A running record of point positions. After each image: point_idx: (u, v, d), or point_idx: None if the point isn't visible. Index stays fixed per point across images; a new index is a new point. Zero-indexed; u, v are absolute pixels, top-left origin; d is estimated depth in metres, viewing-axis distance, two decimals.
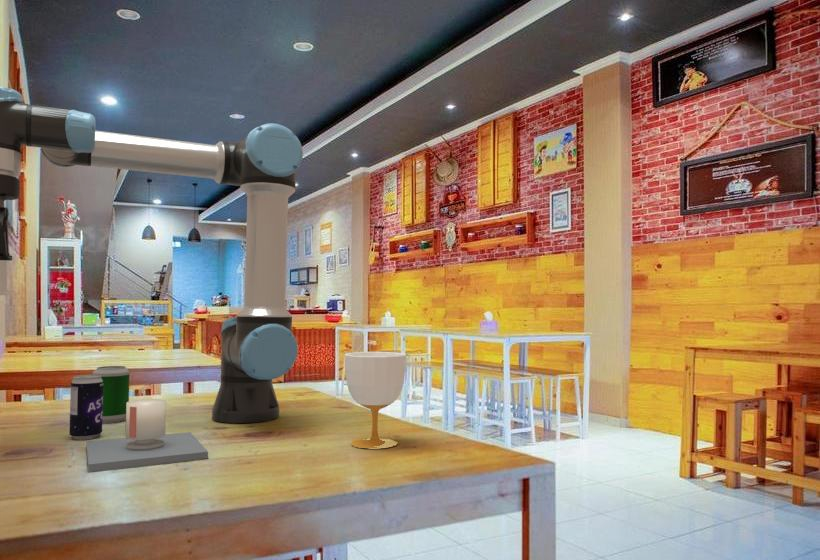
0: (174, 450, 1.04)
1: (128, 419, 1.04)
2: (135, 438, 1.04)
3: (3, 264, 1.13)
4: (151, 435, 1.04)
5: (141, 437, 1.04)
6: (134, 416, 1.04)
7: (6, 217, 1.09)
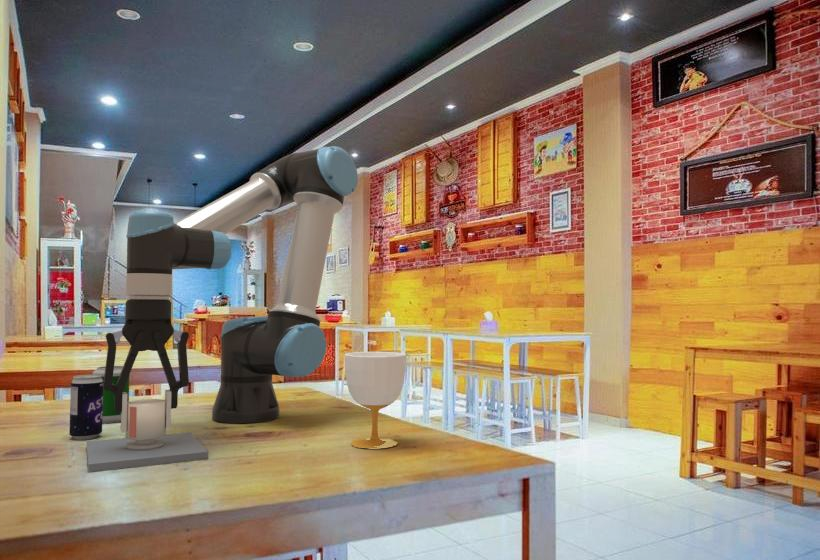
0: (174, 450, 1.04)
1: (128, 419, 1.04)
2: (135, 438, 1.04)
3: (166, 395, 1.08)
4: (151, 435, 1.04)
5: (141, 437, 1.04)
6: (134, 416, 1.04)
7: (154, 339, 1.06)
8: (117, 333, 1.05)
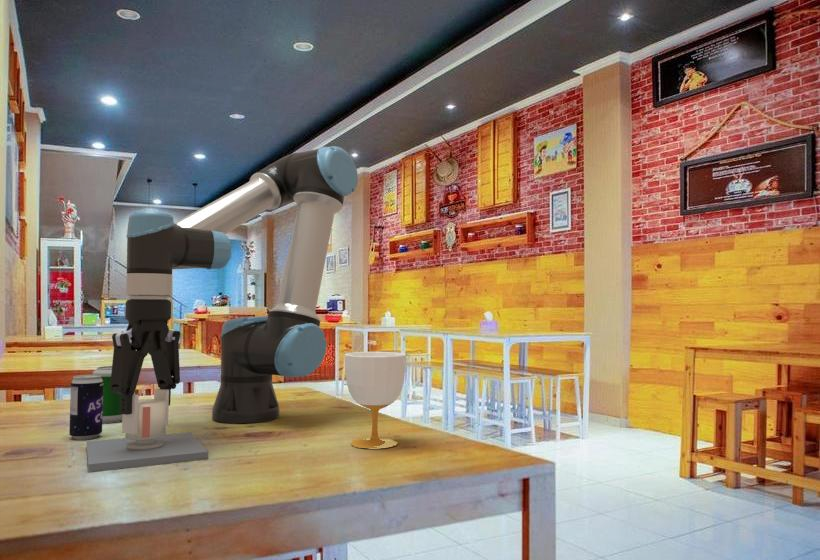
0: (174, 450, 1.04)
1: (139, 420, 1.04)
2: (149, 437, 1.04)
3: (163, 394, 1.10)
4: (162, 433, 1.06)
5: (155, 436, 1.05)
6: (148, 416, 1.04)
7: (159, 338, 1.08)
8: (128, 334, 1.03)
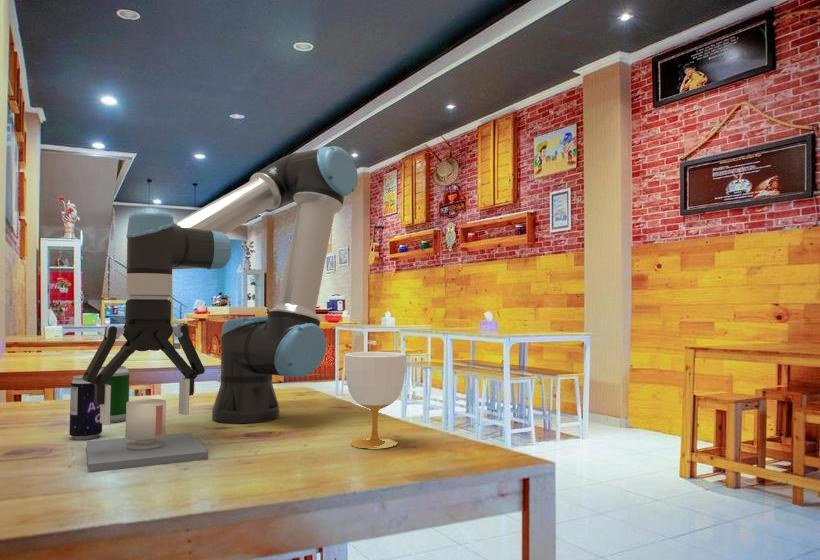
0: (174, 450, 1.04)
1: (153, 419, 1.05)
2: (160, 435, 1.06)
3: (184, 383, 1.11)
4: None
5: (163, 433, 1.07)
6: (161, 414, 1.06)
7: (158, 339, 1.07)
8: (119, 329, 1.04)
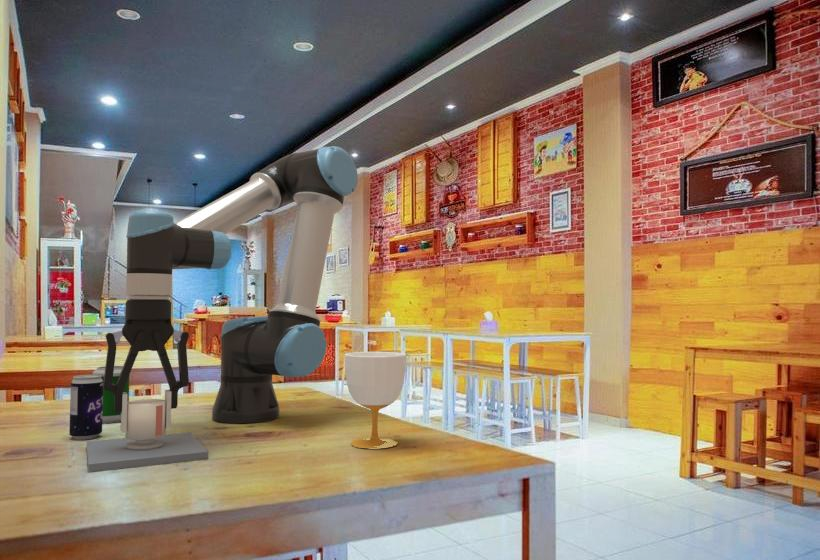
0: (174, 450, 1.04)
1: (153, 419, 1.05)
2: (160, 435, 1.06)
3: (166, 395, 1.08)
4: None
5: (163, 433, 1.07)
6: (161, 414, 1.06)
7: (154, 339, 1.06)
8: (117, 333, 1.05)
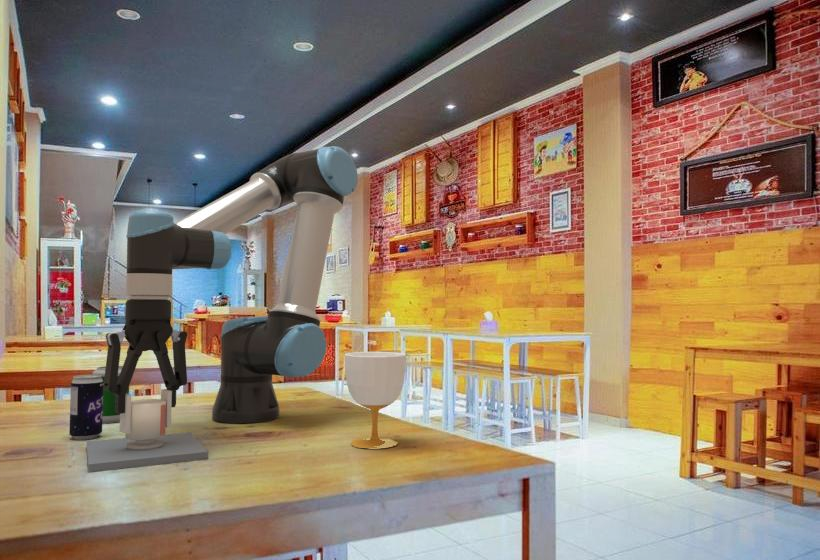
0: (174, 450, 1.04)
1: (158, 418, 1.05)
2: (163, 434, 1.07)
3: (166, 395, 1.09)
4: None
5: None
6: (164, 413, 1.07)
7: (157, 339, 1.07)
8: (120, 333, 1.04)
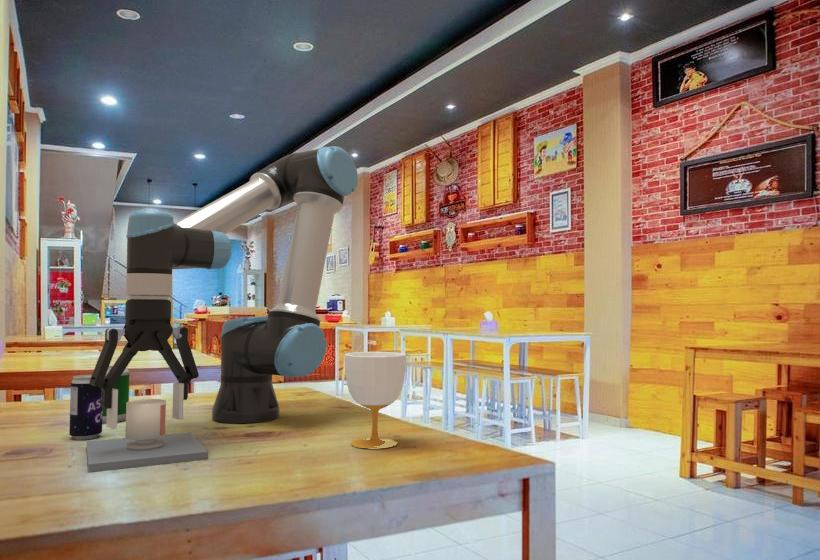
0: (174, 450, 1.04)
1: (158, 418, 1.05)
2: (163, 434, 1.07)
3: (178, 387, 1.10)
4: None
5: None
6: (164, 413, 1.07)
7: (158, 339, 1.07)
8: (120, 331, 1.04)
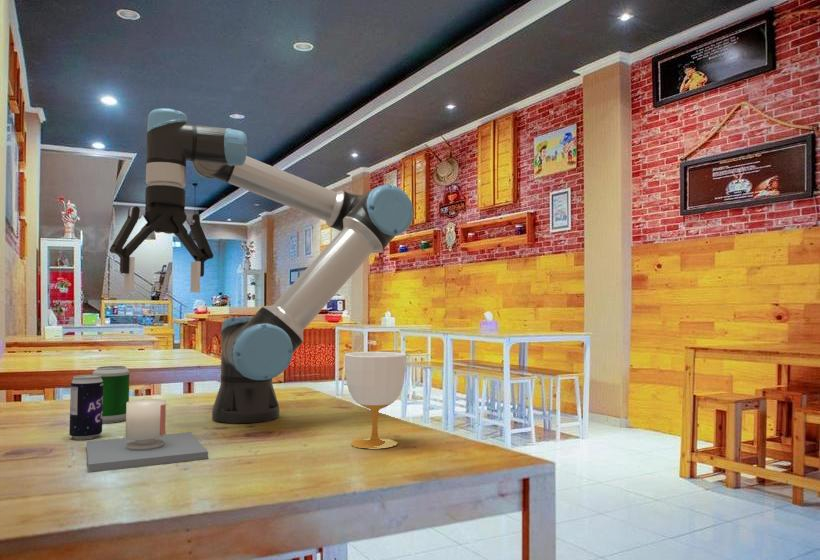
0: (174, 450, 1.04)
1: (158, 418, 1.05)
2: (163, 434, 1.07)
3: (196, 264, 1.26)
4: None
5: None
6: (164, 413, 1.07)
7: (174, 222, 1.22)
8: (141, 210, 1.19)
